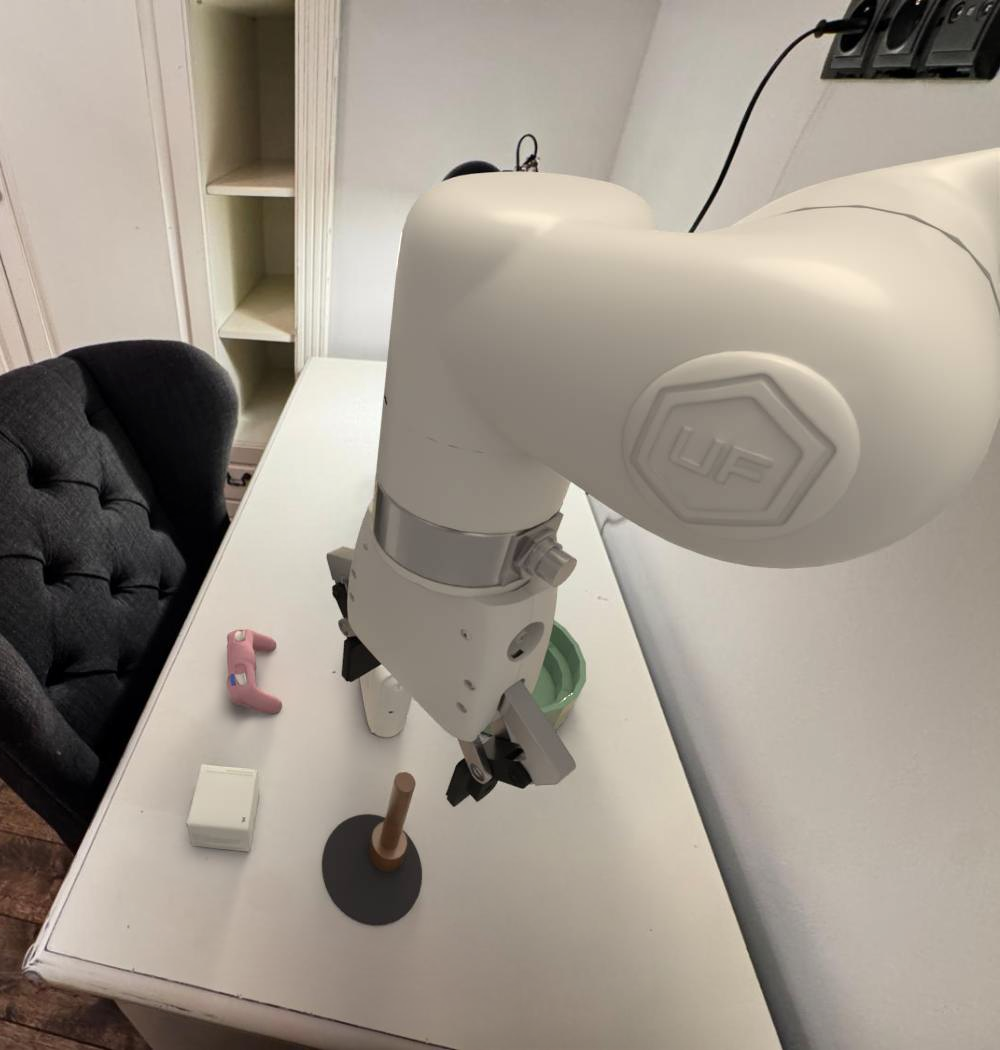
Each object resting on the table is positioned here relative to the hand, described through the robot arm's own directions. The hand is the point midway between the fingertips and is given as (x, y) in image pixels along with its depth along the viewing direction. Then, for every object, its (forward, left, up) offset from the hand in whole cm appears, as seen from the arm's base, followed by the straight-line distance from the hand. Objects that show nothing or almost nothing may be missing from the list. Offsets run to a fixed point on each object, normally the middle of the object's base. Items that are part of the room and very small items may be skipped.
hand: (410, 724), depth 36 cm
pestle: (0, -2, -24) cm, 24 cm away
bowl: (+7, -25, -25) cm, 36 cm away
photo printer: (+14, -12, -25) cm, 31 cm away
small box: (+11, +9, -25) cm, 29 cm away
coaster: (0, 0, -25) cm, 25 cm away
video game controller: (+23, -1, -25) cm, 34 cm away
